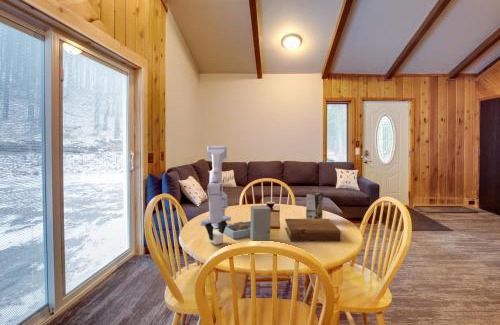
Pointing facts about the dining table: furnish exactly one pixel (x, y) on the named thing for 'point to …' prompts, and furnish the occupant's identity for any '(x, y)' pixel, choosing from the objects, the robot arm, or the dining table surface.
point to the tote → (237, 234)
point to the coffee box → (314, 205)
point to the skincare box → (260, 223)
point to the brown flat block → (312, 230)
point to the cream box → (217, 237)
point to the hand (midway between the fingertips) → (215, 238)
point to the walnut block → (240, 226)
